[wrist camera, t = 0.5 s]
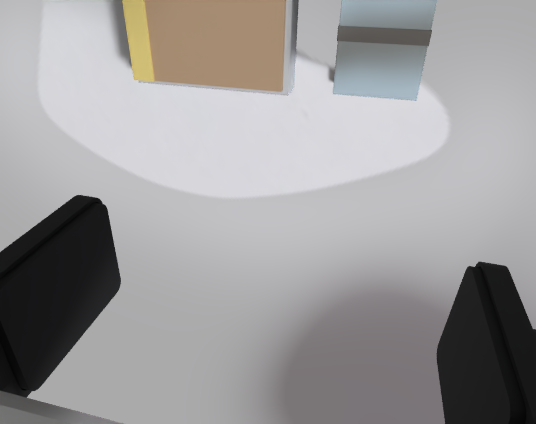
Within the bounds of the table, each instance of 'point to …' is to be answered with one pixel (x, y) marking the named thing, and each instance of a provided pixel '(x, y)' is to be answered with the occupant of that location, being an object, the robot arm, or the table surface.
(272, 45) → the dock
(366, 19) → the banded blue box
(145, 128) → the table surface
